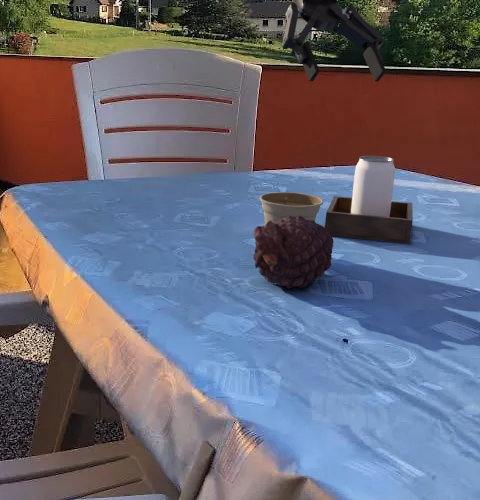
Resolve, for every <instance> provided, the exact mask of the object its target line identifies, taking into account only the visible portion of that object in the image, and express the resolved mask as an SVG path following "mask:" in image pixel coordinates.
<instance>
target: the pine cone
mask: <svg viewBox="0 0 480 500" xmlns="http://www.w3.org/2000/svg"><path fill="white" fill-rule="evenodd" d="M253 238H254V241H255V242H254V244H255V249H254V254H253V260H254V267H255V269H257V268H258V273H259V275H260V276H262V277H263V278H264V279H265V280H267V282H268V283H270V284H276V285H277V286H278V287H281V286H284V287H286V288H287V289H288V290H290V289H294V288H295V287H298V288H299V289H302V288H305V287H307V285H308V284H315V283H316V282H317V280H318V278H319V277H321V276H323V275H324V274H325V272H327V271H328V270H329V269H331V267H332V264H333V263H332V260H333V258H332V257H333V255H332V254H333V248H334V238H333V236H331V235H330V233H329V232H327V230H326V229H325V226H323V225H321V224H319V223H317V222H316V220H315V221H313V220H307V219H304V218H303V217H301V216H298V217H294V218H293V217H291V216H288V217H286V218H284V219H283V220H282V219H280V220H278V221H277V222H276V223H273V222H272V221H271V220H270V221H268V222H267V223H266V224H265V223H264V225H259V226H256V227H254V230H253Z"/></svg>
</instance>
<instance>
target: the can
mask: <svg viewBox="0 0 480 500" xmlns="http://www.w3.org/2000/svg"><path fill="white" fill-rule="evenodd" d="M394 161H395V159H394V158H392V157H387V156H382V155H381V156H380V155H362V156H361V155H360V156H359V160H358V162H357V164H356V165H355V168H354V178H353V187H352V197H351V198H352V205H351V214H361V215H372V216H382V217H390V209H391V201H393V192H394V186H395V185H394V183H395V175H396V167H395V164H394Z"/></svg>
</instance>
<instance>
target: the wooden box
mask: <svg viewBox="0 0 480 500" xmlns="http://www.w3.org/2000/svg"><path fill="white" fill-rule="evenodd" d="M351 205H352V197H350V196H349V197H348V196H339V195H338V196H336V195H335V196H333V198H332V200H331V201H330V203H329V206H328V208H327V210H326V212H325V223H324V227H325V229H326V230H327V232H329V233H330V235H331V237H339V238H340V237H341V238H350V239H358V240H366V241H367V240H368V241H377V242H387V243H395V244H396V243H397V244H403V245H405V244H406V245H410V244H411V237H412V236H411V235H412V229H413V221H414V217H413V214H414V213H413V202H405V201H396V200H395V201H394V200H392V201H391V209H390V217H382V216H372V215H361V214H351Z"/></svg>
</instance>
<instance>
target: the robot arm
mask: <svg viewBox="0 0 480 500" xmlns="http://www.w3.org/2000/svg"><path fill="white" fill-rule="evenodd" d="M292 1H293V2H291V3H290V5H289V6H288V8H287V10H286V12H285V19H286V24H285V28H284V33H283V38H282V44H281V48H282V49H283V50H289V49H290V51H289V54H290V55H292V56H296V59H297V61H298V62H297V63H299V65H302V66H303V69H304V72H305V74H306V77H307V80H308V82H314V81H315V80H316V78H317V76H318V75H319V73H320V72H321V70H320V67H319V65H318V63H317V60H316V57H315V55H314V53H313V51H312V48H311V45H310V43H309V42H305V40H306V39H307V37H308V36H309V34H310V32H311V31H312V29H315V30H316V31H327V32H328V31H329V32H333V33H334V34H336V35H341V36H343V37H344V38H345V39H347V40H348V41H349V42H350V43H352V44H353V45H355V46H357V47H358V48H359V49H360V50H362V51H363V53H362V56H363V59H364V60H365V63H366V65H367V67H368V69H369V71H370V74H371V76H372V78H373V80H374V82H380V80H381V79H382V77H383V76H384V75H385V74H386V72H387V69H386V67H385V65H384V63H383V56H382V54H381V52H380V48H381V47H382V45H383V44H384V42H385V41H386V40H385V38H384V37H383V36H382V35H380V34H379V33H378V31H377V30H375V28H373V26H371V24H369V23H368V22H367V21H366V20H365V19H364V18H363V17H362V16H361V15H360V14H359V12H358V11H357V9H356V8H355V6H354V5H353V4H352V5H351V4H350V5H348V7H347V8H341V6H339V4H338V0H292ZM299 17H300V19H302V20H303V21H304V22H305V23H306V24H305V26H304V28H302V31H301V32H300V34H299V36H298V37H297V38H295V33H296V28H297V25H298V24H297V23H298V18H299ZM340 21H341V22H340ZM339 22H340V25H339V26H338V24H339Z"/></svg>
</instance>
